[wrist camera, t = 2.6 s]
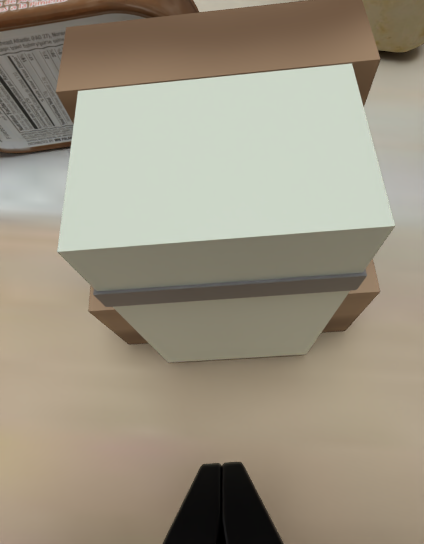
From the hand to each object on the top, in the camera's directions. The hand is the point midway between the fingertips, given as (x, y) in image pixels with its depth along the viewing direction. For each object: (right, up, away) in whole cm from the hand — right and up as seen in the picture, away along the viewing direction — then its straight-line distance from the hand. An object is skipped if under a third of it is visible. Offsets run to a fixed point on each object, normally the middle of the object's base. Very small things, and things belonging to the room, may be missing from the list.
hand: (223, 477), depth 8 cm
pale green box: (+1, +2, +10) cm, 10 cm away
